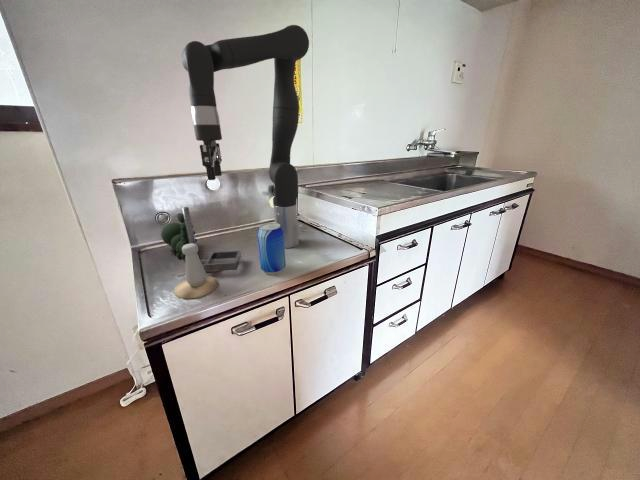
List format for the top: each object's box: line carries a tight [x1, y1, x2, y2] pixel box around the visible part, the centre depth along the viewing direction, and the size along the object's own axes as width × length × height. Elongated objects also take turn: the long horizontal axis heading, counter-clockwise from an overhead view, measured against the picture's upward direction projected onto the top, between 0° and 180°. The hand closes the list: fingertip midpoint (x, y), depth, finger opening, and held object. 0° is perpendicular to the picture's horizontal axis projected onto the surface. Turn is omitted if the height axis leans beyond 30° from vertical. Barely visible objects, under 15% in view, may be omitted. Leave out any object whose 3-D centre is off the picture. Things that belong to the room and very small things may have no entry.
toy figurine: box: [160, 212, 198, 260], centre depth 100 cm, size 9×19×25 cm
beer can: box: [256, 222, 287, 276], centre depth 87 cm, size 8×8×16 cm
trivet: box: [173, 275, 219, 300], centre depth 80 cm, size 12×12×1 cm
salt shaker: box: [182, 243, 208, 287], centre depth 79 cm, size 6×6×13 cm
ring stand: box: [181, 206, 242, 273], centre depth 87 cm, size 16×10×22 cm, turn 97°
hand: (215, 177), depth 86 cm, fingers open, 8 cm apart
